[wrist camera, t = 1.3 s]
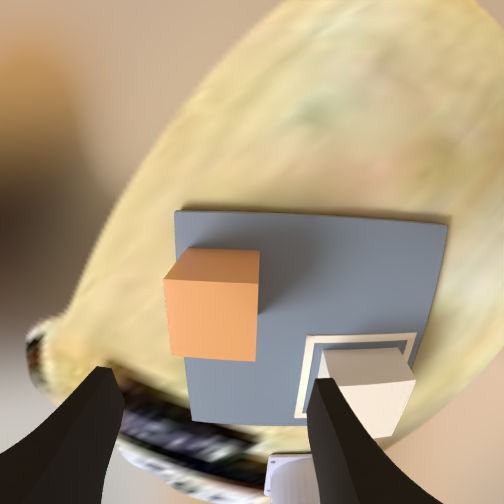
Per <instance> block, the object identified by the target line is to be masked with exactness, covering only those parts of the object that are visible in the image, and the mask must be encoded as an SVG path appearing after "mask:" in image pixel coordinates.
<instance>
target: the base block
mask: <svg viewBox="0 0 504 504" xmlns="http://www.w3.org/2000/svg"><path fill="white" fill-rule="evenodd" d="M318 378H333V379H334V380H335V382H336V384H337V385H338V387H339V389H340V391H341V392H342V394H343V396H344V397H345V399H346V401H347V402H348V404H349V405H350V407H351V409H352V410H353V412H354V413H355V415H356V416H357V418H358V419H359V420H360V422H361V423H362V425H363V426H364V428H365V429H366V430H367V432H368V433H369V434H370V436H371V437H372V438H381V437H388V436H392V434H393V432H394V430H395V428H396V426H397V424H398V422H399V419H400V417H401V415H402V413H403V411H404V409H405V406H406V404H407V402H408V400H409V397H410V395H411V393H412V390H413V388H414V385H415V383H416V380H417V379H416V378H415V376H414V374H413V372H412V371H411V369H410V367H409V365H408V364H407V362H406V360H405V359H404V357H403V355H402V354H401V352H400V350H399V348H398V347H394V348H376V349H351V350H323V351H322V356H321V362H320V367H319V373H318Z"/></svg>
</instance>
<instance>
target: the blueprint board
mask: <svg viewBox="0 0 504 504" xmlns="http://www.w3.org/2000/svg"><path fill="white" fill-rule="evenodd" d="M174 221H175V246H176V262H177V260H178V259H179V258H180V257H181V255H182V254H183V253H184V251H185V250H186V249H187V248H202V249H230V250H258V251H260V261H259V287H258V313H257V336H256V358H255V362H254V361H233V360H218V359H204V358H193V357H184V360H185V369H186V377H187V385H188V393H189V400H190V407H191V414H192V421H201V422H211V423H223V424H237V425H259V426H307V415H306V410H307V407H308V403H309V399H310V396H311V392H312V388H313V384H314V380H315V378H318V373H319V367H320V362H321V356H322V351H323V350H351V349H376V348H394V347H398V348H399V350H400V352H401V354H402V355H403V357H404V359H405V360H406V362H407V364H408V365H409V367H410V369H412V366H413V363H414V360H415V357H416V354H417V351H418V349H419V345H420V342H421V339H422V336H423V333H424V330H425V326H426V323H427V320H428V316H429V312H430V309H431V305H432V301H433V297H434V294H435V289H436V285H437V281H438V277H439V272H440V268H441V263H442V258H443V253H444V248H445V242H446V236H447V230H448V226H447V225H445V224H439V223H428V222H417V221H405V220H392V219H379V218H364V217H349V216H332V215H314V214H293V213H269V212H240V211H195V210H176V211H175V212H174Z"/></svg>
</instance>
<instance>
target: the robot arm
mask: <svg viewBox="0 0 504 504" xmlns="http://www.w3.org/2000/svg"><path fill="white" fill-rule="evenodd" d="M124 405H125V400H124V398H123V396H122V393H121V391H120V389H119V386H118V384H117V381H116V379H115V376H114V374H113V371H112V369H111V368H106V367H99V366H97V367H96V368H95V369H94V370H93V371H92V372H91V373H90V374H89V375H88V376H87V377H86V378H85V379H84V381H83V382H82V383H81V384H80V385H79V386H78V387H77V388H76V389H75V390H74V391H73V393H72V394H71V395H70V396H69V397H68V398H67V399H66V400H65V401H64V402H63V403H62V404H61V405H60V406H59V407H58V408H57V409H56V410H55V411H54V412H53V413H52V414H51V415H50V416H49V417H48V418H47V419H46V420H45V421H44V422H43V423H42V424H40V425H39V426H38V427H37V428H36V429H35V430H34V431H32V432H31V433H30V434H28V435H27V436H26V437H25V438H23V439H22V440H21V441H19V442H18V443H16V444H15V445H13V446H12V447H10V448H9V449H7V450H6V451H4V452H3V453H1V454H0V504H101V499H102V492H103V485H104V479H105V475H106V471H107V467H108V464H109V461H110V458H111V454H112V451H113V448H114V445H115V442H116V439H117V435H118V432H119V429H120V426H121V421H122V416H123V411H124ZM306 415H307V428H308V438H309V443H310V448H311V453H312V454H283V455H278V454H274V455H270V456H269V458H268V466H267V474H266V481H265V489H264V495H266V496H270V504H443V503H441V502H440V501H438V500H437V499H435V498H434V497H433V496H431V495H430V494H428V493H427V492H426V491H424V490H423V489H422V488H421V487H420V486H418V485H417V484H416V483H415V482H414V481H412V480H411V479H410V478H409V477H408V476H407V475H405V474H404V473H403V472H402V471H401V470H400V469H399V468H398V467H397V466H396V465H395V464H394V463H393V462H392V461H391V459H390V458H389V457H388V456H387V455H386V454H385V453H384V452H383V451H382V449H381V448H380V447H379V446H378V445H377V443H376V442H375V441H374V440H373V438H372V437H371V436H370V434H369V433H368V432H367V430H366V429H365V428H364V426H363V425H362V423H361V422H360V420H359V419H358V418H357V416H356V415H355V413H354V412H353V410H352V409H351V407H350V405H349V404H348V402H347V401H346V399H345V397H344V396H343V394H342V392H341V391H340V389H339V387H338V385H337V384H336V382H335V380H334V379H333V378H315V380H314V384H313V388H312V392H311V396H310V399H309V403H308V407H307V410H306Z"/></svg>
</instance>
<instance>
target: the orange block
mask: <svg viewBox="0 0 504 504" xmlns="http://www.w3.org/2000/svg"><path fill="white" fill-rule="evenodd" d="M259 261H260V251H258V250H230V249H202V248H187V249H186V250H185V251H184V253H183V254H182V255H181V257H180V258H179V259H178V260H177V262H176V263H175V264H174V266H173V267H172V268H171V270H170V271H169V272H168V274H167V275H166V276H165V278H164V279H163V280H164V291H165V302H166V312H167V321H168V330H169V338H170V346H171V354H172V356H182V357H193V358H204V359H218V360H233V361H254V362H255V358H256V336H257V313H258V287H259Z"/></svg>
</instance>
